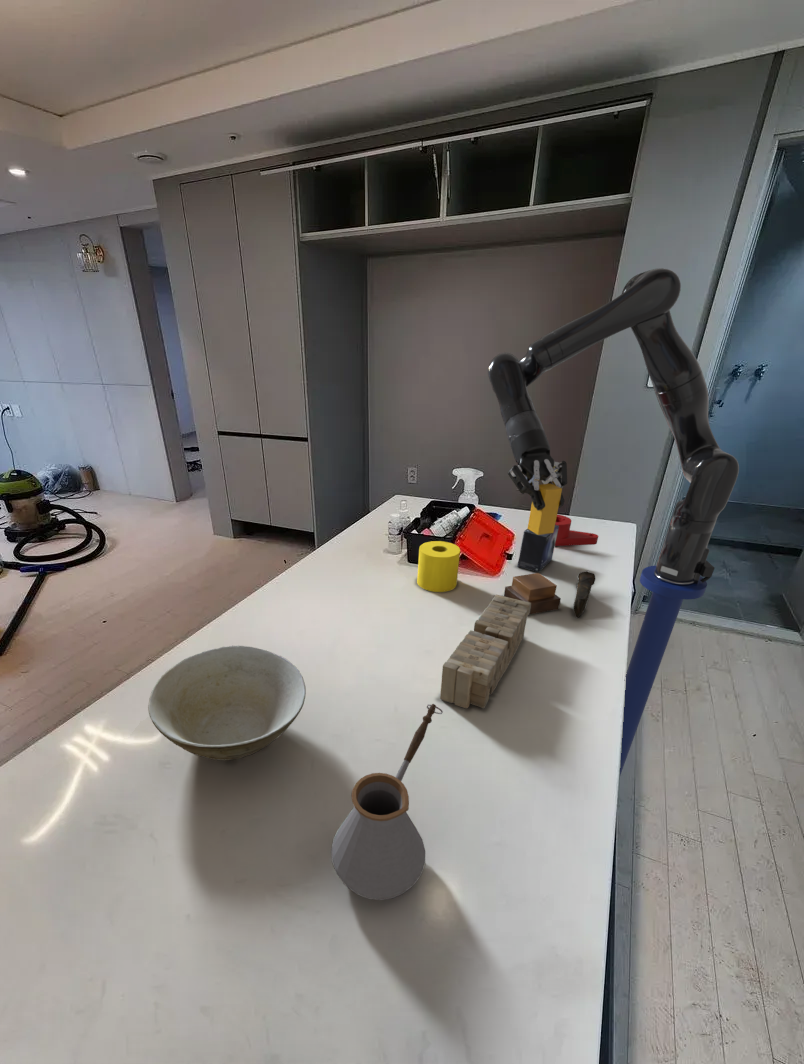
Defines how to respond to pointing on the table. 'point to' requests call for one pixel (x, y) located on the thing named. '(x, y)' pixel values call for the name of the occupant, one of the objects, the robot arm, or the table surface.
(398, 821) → the coffee pot
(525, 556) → the small box
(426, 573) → the yellow toilet paper roll
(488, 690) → the block tower
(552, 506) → the bar
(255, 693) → the bowl
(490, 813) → the table surface
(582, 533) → the lever
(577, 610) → the hand tool
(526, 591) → the brown stepped wooden block
